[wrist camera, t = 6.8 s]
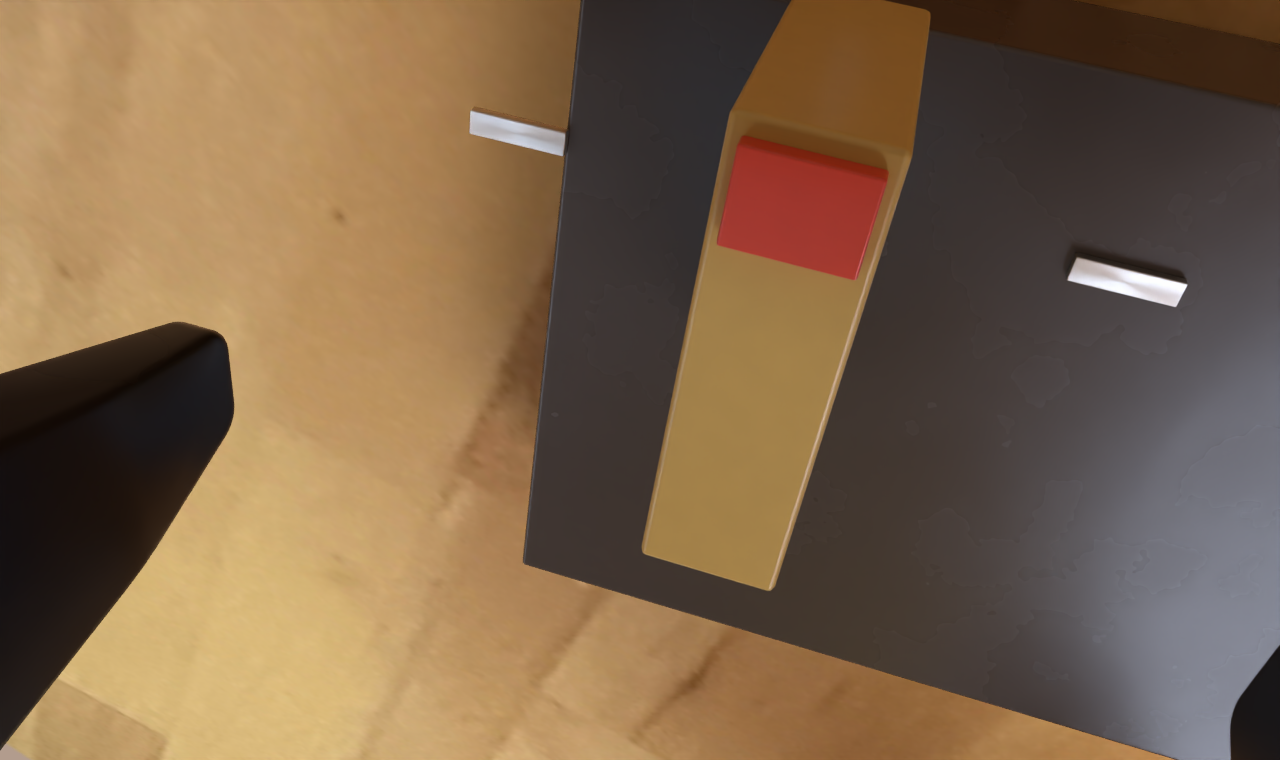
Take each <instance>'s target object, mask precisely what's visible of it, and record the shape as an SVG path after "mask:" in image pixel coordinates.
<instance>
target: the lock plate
mask: <svg viewBox="0 0 1280 760" xmlns="http://www.w3.org/2000/svg"><path fill="white" fill-rule="evenodd" d="M885 1H889V2H894V3H898V4H903V5H907V6H912V7H916V8H921V9H925V10H927V11H929V12H930V17H931V18H930V26H929V33H928V41H927V49H926V56H925V64H924V71H923V79H922V86H921V94H920V101H919V109H918V117H917V124H916V132H915V139H914V147H913V154H912V159H911V162H910V165H909V168H908V171H907V175H906V178H905V181H904V184H903V187H902V190H901V193H900V196H899V200H898V203H897V206H896V209H895V212H894V215H893V218H892V222H891V225H890V228H889V231H888V234H887V237H886V240H885V243H884V247H883V250H882V253H881V256H880V259H879V262H878V265H877V268H876V272H875V275H874V278H873V281H872V284H871V287H870V290H869V294H868V297H867V300H866V303H865V306H864V309H863V312H862V315H861V319H860V322H859V325H858V328H857V331H856V334H855V337H854V340H853V344H852V347H851V350H850V353H849V356H848V359H847V362H846V366H845V369H844V372H843V375H842V378H841V381H840V384H839V387H838V391H837V394H836V397H835V400H834V403H833V406H832V409H831V413H830V416H829V419H828V422H827V425H826V428H825V431H824V434H823V438H822V441H821V444H820V447H819V450H818V453H817V456H816V459H815V463H814V466H813V469H812V472H811V475H810V478H809V481H808V485H807V488H806V491H805V494H804V497H803V500H802V503H801V506H800V510H799V513H798V516H797V519H796V522H795V525H794V528H793V531H792V535H791V538H790V541H789V544H788V547H787V550H786V553H785V557H784V560H783V563H782V566H781V569H780V572H779V575H778V578H777V582H776V585H775V587H774V588H773V589H772V590H771V591H766V590H763V589H760V588H756V587H753V586H750V585H746V584H743V583H739V582H736V581H733V580H729V579H726V578H723V577H719V576H716V575H713V574H709V573H706V572H703V571H699V570H696V569H692V568H689V567H686V566H682V565H679V564H676V563H672V562H669V561H666V560H662V559H659V558H655V557H652V556H649V555H646V554H644V553H643V551H642V542H643V537H644V532H645V527H646V522H647V517H648V512H649V507H650V502H651V497H652V493H653V488H654V483H655V478H656V473H657V468H658V463H659V458H660V453H661V448H662V443H663V438H664V433H665V429H666V424H667V419H668V414H669V409H670V404H671V399H672V394H673V389H674V384H675V379H676V374H677V369H678V365H679V360H680V355H681V350H682V345H683V340H684V335H685V330H686V325H687V320H688V315H689V310H690V305H691V301H692V296H693V291H694V286H695V281H696V276H697V271H698V266H699V261H700V256H701V251H702V246H703V241H704V237H705V232H706V227H707V222H708V217H709V212H710V207H711V202H712V197H713V192H714V187H715V182H716V177H717V173H718V168H719V163H720V158H721V153H722V148H723V143H724V138H725V133H726V128H727V123H728V118H729V113H730V111H731V109H732V108H733V106H734V104H735V102H736V100H737V99H738V97H739V95H740V93H741V91H742V89H743V88H744V86H745V84H746V82H747V80H748V78H749V77H750V75H751V73H752V71H753V69H754V67H755V66H756V64H757V62H758V60H759V58H760V57H761V55H762V53H763V51H764V49H765V47H766V46H767V44H768V42H769V40H770V38H771V36H772V35H773V33H774V31H775V29H776V27H777V25H778V24H779V22H780V20H781V18H782V16H783V15H784V13H785V11H786V9H787V7H788V5H789V4H790V2H791V0H581V2H580V12H579V22H578V31H577V41H576V51H575V60H574V70H573V80H572V89H571V99H570V109H569V118H568V128H567V129H565V128H561V127H557V126H553V125H549V124H545V123H541V122H537V121H532V120H528V119H524V118H520V117H516V116H512V115H508V114H504V113H499V112H495V111H491V110H487V109H483V108H479V107H473V108H472V109H471V110H470V131H469V133H470V134H473V135H477V136H481V137H485V138H489V139H493V140H497V141H501V142H505V143H509V144H514V145H518V146H522V147H526V148H530V149H534V150H538V151H542V152H546V153H550V154H554V155H558V156H564V155H565V157H564V167H563V177H562V186H561V196H560V206H559V215H558V225H557V235H556V244H555V254H554V264H553V273H552V283H551V293H550V302H549V312H548V322H547V331H546V341H545V351H544V360H543V370H542V380H541V389H540V399H539V409H538V418H537V428H536V438H535V447H534V457H533V467H532V476H531V486H530V496H529V505H528V515H527V525H526V534H525V544H524V554H523V563H524V564H525V565H529V566H532V567H535V568H539V569H542V570H545V571H549V572H552V573H555V574H559V575H562V576H565V577H569V578H572V579H575V580H579V581H582V582H585V583H589V584H592V585H595V586H599V587H602V588H605V589H609V590H612V591H615V592H619V593H622V594H625V595H629V596H632V597H635V598H639V599H642V600H645V601H649V602H652V603H655V604H659V605H662V606H665V607H669V608H672V609H675V610H679V611H682V612H685V613H689V614H692V615H695V616H699V617H702V618H705V619H709V620H712V621H715V622H719V623H722V624H725V625H729V626H732V627H735V628H739V629H742V630H745V631H749V632H752V633H755V634H759V635H762V636H765V637H769V638H772V639H775V640H779V641H782V642H785V643H789V644H792V645H795V646H799V647H802V648H805V649H809V650H812V651H815V652H819V653H822V654H825V655H829V656H832V657H835V658H839V659H842V660H845V661H849V662H852V663H855V664H859V665H862V666H865V667H869V668H872V669H875V670H879V671H882V672H885V673H889V674H892V675H895V676H899V677H902V678H905V679H909V680H912V681H915V682H919V683H922V684H925V685H929V686H932V687H935V688H939V689H942V690H945V691H949V692H952V693H955V694H959V695H962V696H965V697H969V698H972V699H975V700H979V701H982V702H985V703H989V704H992V705H995V706H999V707H1002V708H1005V709H1009V710H1012V711H1015V712H1019V713H1022V714H1025V715H1029V716H1032V717H1035V718H1039V719H1042V720H1045V721H1049V722H1052V723H1055V724H1059V725H1062V726H1065V727H1069V728H1072V729H1075V730H1079V731H1082V732H1085V733H1089V734H1092V735H1095V736H1099V737H1102V738H1105V739H1109V740H1112V741H1115V742H1119V743H1122V744H1125V745H1129V746H1132V747H1135V748H1139V749H1142V750H1145V751H1149V752H1152V753H1155V754H1159V755H1162V756H1165V757H1169V758H1172V759H1175V760H1231V756H1230V724H1231V717H1232V713H1233V710H1234V707H1235V705H1236V703H1237V701H1238V699H1239V698H1240V696H1241V695H1242V693H1243V692H1244V691H1245V689H1246V688H1247V687H1248V685H1249V684H1250V683H1251V681H1252V680H1253V679H1254V678H1255V676H1256V675H1257V674H1258V672H1259V671H1260V670H1261V668H1262V667H1263V666H1264V664H1265V663H1266V662H1267V660H1268V659H1269V658H1270V656H1271V655H1272V654H1273V653H1274V651H1275V650H1276V649H1277V647H1278V646H1279V645H1280V44H1277V43H1272V42H1267V41H1263V40H1258V39H1253V38H1248V37H1244V36H1239V35H1234V34H1230V33H1225V32H1220V31H1215V30H1211V29H1206V28H1201V27H1197V26H1192V25H1187V24H1182V23H1178V22H1173V21H1168V20H1163V19H1159V18H1154V17H1149V16H1145V15H1140V14H1135V13H1130V12H1126V11H1121V10H1116V9H1112V8H1107V7H1102V6H1097V5H1093V4H1088V3H1083V2H1078V1H1074V0H885Z"/></svg>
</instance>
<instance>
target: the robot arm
mask: <svg viewBox="0 0 1280 760" xmlns="http://www.w3.org/2000/svg"><path fill="white" fill-rule="evenodd" d="M233 415H234V397H233V389H232V380H231V371H230V362H229V353H228V347H227V343H226V341H225V339H224V337H223V336H222V335H221V334H219V333H218V332H216V331H214V330H210V329H207V328H203V327H199V326H196V325H192V324H189V323H185V322H172V323H168V324H165V325H162V326H158V327H155V328H152V329H148V330H145V331H142V332H138V333H135V334H132V335H128V336H125V337H122V338H118V339H115V340H112V341H108V342H105V343H102V344H98V345H95V346H92V347H89V348H85V349H82V350H79V351H75V352H72V353H69V354H65V355H62V356H59V357H55V358H52V359H49V360H45V361H42V362H39V363H35V364H32V365H29V366H25V367H22V368H19V369H15V370H12V371H9V372H5V373H2V374H0V750H1V749H2V747H3V746H4V745H5V744H6V742H7V741H8V740H9V739H10V737H11V736H12V735H13V733H14V732H15V731H16V730H17V728H18V727H19V726H20V725H21V723H22V722H23V721H24V719H25V718H26V717H27V716H28V714H29V713H30V712H31V711H32V709H33V708H34V707H35V705H36V704H37V703H38V702H39V700H40V699H41V698H42V696H43V695H44V694H45V693H46V691H47V690H48V689H49V688H50V686H51V685H52V684H53V682H54V681H55V680H56V679H57V677H58V676H59V675H60V674H61V672H62V671H63V670H64V668H65V667H66V666H67V665H68V663H69V662H70V661H71V659H72V658H73V657H74V656H75V654H76V653H77V652H78V651H79V649H80V648H81V647H82V645H83V644H84V643H85V642H86V640H87V639H88V638H89V637H90V635H91V634H92V633H93V631H94V630H95V629H96V628H97V626H98V625H99V624H100V623H101V621H102V620H103V619H104V617H105V616H106V615H107V614H108V612H109V611H110V610H111V608H112V607H113V606H114V605H115V603H116V602H117V601H118V600H119V598H120V597H121V596H122V594H123V593H124V592H125V591H126V589H127V588H128V587H129V585H130V584H131V583H132V581H133V580H134V579H135V577H136V576H137V575H138V573H139V572H140V571H141V569H142V568H143V566H144V565H145V563H146V562H147V561H148V559H149V558H150V556H151V555H152V553H153V552H154V550H155V549H156V547H157V546H158V544H159V542H160V541H161V539H162V537H163V536H164V534H165V533H166V531H167V529H168V528H169V526H170V525H171V523H172V521H173V520H174V518H175V517H176V515H177V513H178V512H179V510H180V509H181V507H182V505H183V504H184V502H185V500H186V499H187V497H188V496H189V494H190V492H191V491H192V489H193V488H194V486H195V484H196V483H197V481H198V480H199V478H200V476H201V475H202V473H203V471H204V470H205V468H206V467H207V465H208V463H209V462H210V460H211V459H212V457H213V455H214V454H215V452H216V451H217V449H218V447H219V446H220V444H221V442H222V441H223V439H224V438H225V436H226V434H227V432H228V430H229V428H230V426H231V423H232V419H233ZM1230 756H1231V760H1280V645H1279V646H1278V647H1277V649H1276V650H1275V651H1274V653H1273V654H1272V655H1271V656H1270V658H1269V659H1268V660H1267V662H1266V663H1265V664H1264V666H1263V667H1262V668H1261V670H1260V671H1259V672H1258V674H1257V675H1256V676H1255V678H1254V679H1253V680H1252V681H1251V683H1250V684H1249V685H1248V687H1247V688H1246V689H1245V691H1244V692H1243V693H1242V695H1241V696H1240V698H1239V699H1238V701H1237V703H1236V705H1235V707H1234V710H1233V713H1232V717H1231V724H1230Z"/></svg>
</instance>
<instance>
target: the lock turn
mask: <svg viewBox="0 0 1280 760" xmlns="http://www.w3.org/2000/svg"><path fill="white" fill-rule="evenodd" d="M930 18H931V17H930V12H929V11H927V10H925V9H921V8H916V7H912V6H907V5H903V4H898V3H894V2H889V1H885V0H791V2H790V4H789V5H788V7H787V9H786V11H785V13H784V15H783V16H782V18H781V20H780V22H779V24H778V25H777V27H776V29H775V31H774V33H773V35H772V36H771V38H770V40H769V42H768V44H767V46H766V47H765V49H764V51H763V53H762V55H761V57H760V58H759V60H758V62H757V64H756V66H755V67H754V69H753V71H752V73H751V75H750V77H749V78H748V80H747V82H746V84H745V86H744V88H743V89H742V91H741V93H740V95H739V97H738V99H737V100H736V102H735V104H734V106H733V108H732V109H731V111H730V113H729V118H728V123H727V128H726V133H725V138H724V143H723V148H722V153H721V158H720V163H719V168H718V173H717V177H716V182H715V187H714V192H713V197H712V202H711V207H710V212H709V217H708V222H707V227H706V232H705V237H704V241H703V246H702V251H701V256H700V261H699V266H698V271H697V276H696V281H695V286H694V291H693V296H692V301H691V305H690V310H689V315H688V320H687V325H686V330H685V335H684V340H683V345H682V350H681V355H680V360H679V365H678V369H677V374H676V379H675V384H674V389H673V394H672V399H671V404H670V409H669V414H668V419H667V424H666V429H665V433H664V438H663V443H662V448H661V453H660V458H659V463H658V468H657V473H656V478H655V483H654V488H653V493H652V497H651V502H650V507H649V512H648V517H647V522H646V527H645V532H644V537H643V542H642V551H643V553H644V554H646V555H649V556H652V557H655V558H659V559H662V560H666V561H669V562H672V563H676V564H679V565H682V566H686V567H689V568H692V569H696V570H699V571H703V572H706V573H709V574H713V575H716V576H719V577H723V578H726V579H729V580H733V581H736V582H739V583H743V584H746V585H750V586H753V587H756V588H760V589H763V590H766V591H771V590H772V589H773V588H774V587H775V585H776V582H777V578H778V575H779V572H780V569H781V566H782V563H783V560H784V557H785V553H786V550H787V547H788V544H789V541H790V538H791V535H792V531H793V528H794V525H795V522H796V519H797V516H798V513H799V510H800V506H801V503H802V500H803V497H804V494H805V491H806V488H807V485H808V481H809V478H810V475H811V472H812V469H813V466H814V463H815V459H816V456H817V453H818V450H819V447H820V444H821V441H822V438H823V434H824V431H825V428H826V425H827V422H828V419H829V416H830V413H831V409H832V406H833V403H834V400H835V397H836V394H837V391H838V387H839V384H840V381H841V378H842V375H843V372H844V369H845V366H846V362H847V359H848V356H849V353H850V350H851V347H852V344H853V340H854V337H855V334H856V331H857V328H858V325H859V322H860V319H861V315H862V312H863V309H864V306H865V303H866V300H867V297H868V294H869V290H870V287H871V284H872V281H873V278H874V275H875V272H876V268H877V265H878V262H879V259H880V256H881V253H882V250H883V247H884V243H885V240H886V237H887V234H888V231H889V228H890V225H891V222H892V218H893V215H894V212H895V209H896V206H897V203H898V200H899V196H900V193H901V190H902V187H903V184H904V181H905V178H906V175H907V171H908V168H909V165H910V162H911V159H912V154H913V147H914V139H915V132H916V124H917V117H918V109H919V101H920V94H921V86H922V79H923V71H924V64H925V56H926V49H927V41H928V33H929V26H930Z"/></svg>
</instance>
